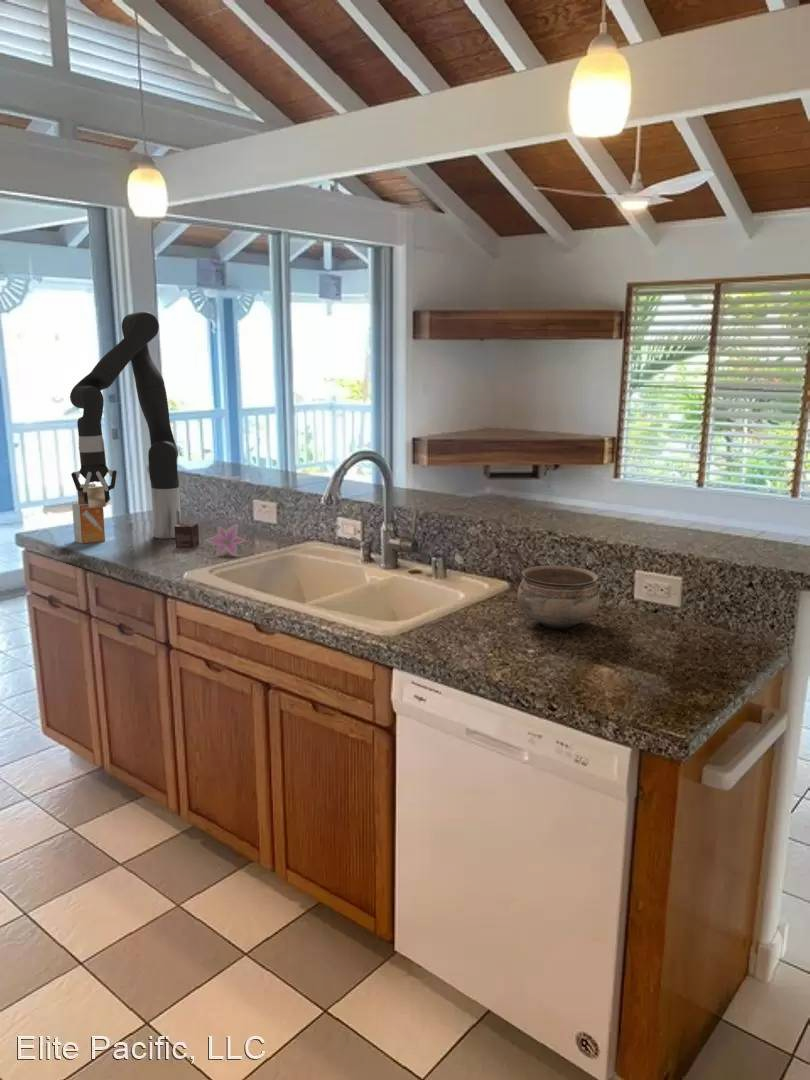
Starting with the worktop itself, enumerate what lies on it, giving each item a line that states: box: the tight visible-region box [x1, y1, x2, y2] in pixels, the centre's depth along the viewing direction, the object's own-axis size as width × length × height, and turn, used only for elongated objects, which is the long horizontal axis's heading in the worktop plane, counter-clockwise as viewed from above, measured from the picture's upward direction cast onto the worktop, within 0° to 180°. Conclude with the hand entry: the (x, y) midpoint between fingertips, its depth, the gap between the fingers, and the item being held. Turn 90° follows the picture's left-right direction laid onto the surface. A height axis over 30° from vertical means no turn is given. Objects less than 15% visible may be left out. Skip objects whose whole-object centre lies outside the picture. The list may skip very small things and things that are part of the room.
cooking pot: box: [517, 564, 601, 630], centre depth 188 cm, size 25×19×12 cm
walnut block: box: [77, 483, 96, 504], centre depth 267 cm, size 5×5×6 cm
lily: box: [206, 523, 246, 557], centre depth 255 cm, size 11×11×9 cm
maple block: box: [87, 485, 107, 508], centre depth 257 cm, size 5×5×6 cm
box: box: [174, 522, 200, 549], centre depth 264 cm, size 6×6×7 cm
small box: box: [71, 502, 106, 545], centre depth 269 cm, size 8×6×13 cm
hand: (97, 502), depth 258 cm, fingers closed on maple block, 5 cm apart
